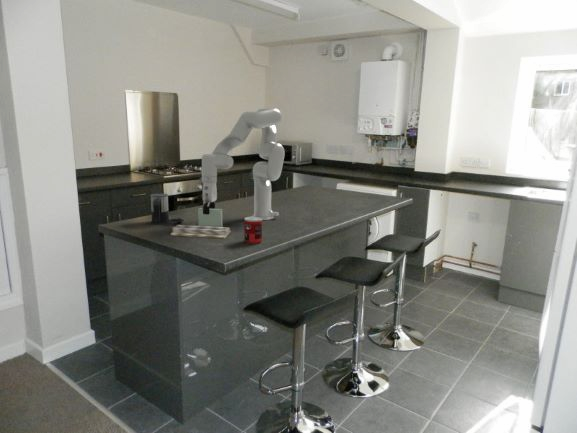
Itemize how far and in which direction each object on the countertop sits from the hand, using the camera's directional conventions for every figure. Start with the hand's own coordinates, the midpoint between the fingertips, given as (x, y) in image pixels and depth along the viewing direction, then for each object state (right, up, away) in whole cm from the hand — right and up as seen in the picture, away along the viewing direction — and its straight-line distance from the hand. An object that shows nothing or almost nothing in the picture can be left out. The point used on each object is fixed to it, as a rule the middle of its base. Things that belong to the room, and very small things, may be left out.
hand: (209, 212), depth 214 cm
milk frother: (-23, -6, +7) cm, 25 cm away
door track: (-1, -10, -12) cm, 16 cm away
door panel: (0, -7, +2) cm, 7 cm away
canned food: (+24, -14, -24) cm, 37 cm away
